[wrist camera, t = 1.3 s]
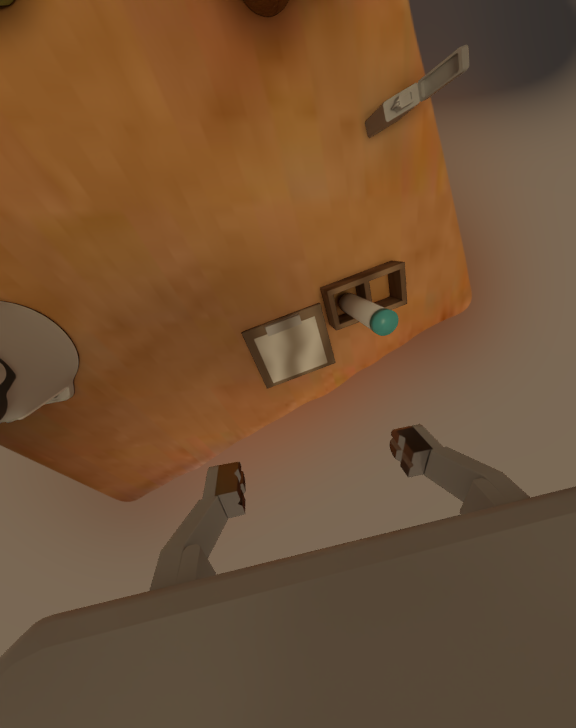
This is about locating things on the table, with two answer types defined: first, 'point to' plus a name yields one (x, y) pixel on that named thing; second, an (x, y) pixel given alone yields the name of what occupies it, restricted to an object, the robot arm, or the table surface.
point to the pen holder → (366, 291)
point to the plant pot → (5, 2)
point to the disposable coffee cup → (266, 6)
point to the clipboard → (290, 345)
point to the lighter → (418, 91)
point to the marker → (369, 314)
